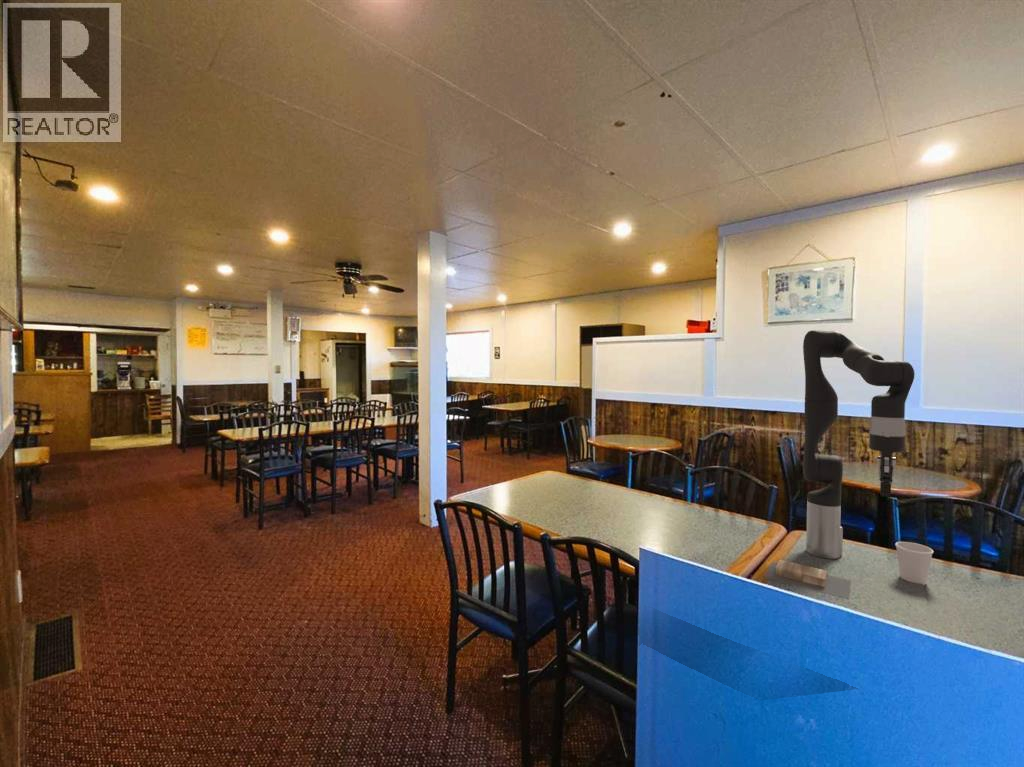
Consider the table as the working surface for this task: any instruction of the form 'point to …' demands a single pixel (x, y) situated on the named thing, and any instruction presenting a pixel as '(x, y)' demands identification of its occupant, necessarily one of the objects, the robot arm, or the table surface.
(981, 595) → the table surface
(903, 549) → the dixie cup
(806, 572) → the maple block
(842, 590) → the rubber mat
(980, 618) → the table surface
